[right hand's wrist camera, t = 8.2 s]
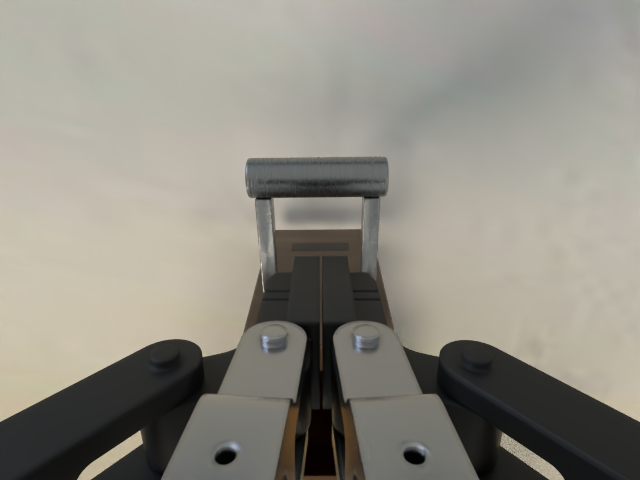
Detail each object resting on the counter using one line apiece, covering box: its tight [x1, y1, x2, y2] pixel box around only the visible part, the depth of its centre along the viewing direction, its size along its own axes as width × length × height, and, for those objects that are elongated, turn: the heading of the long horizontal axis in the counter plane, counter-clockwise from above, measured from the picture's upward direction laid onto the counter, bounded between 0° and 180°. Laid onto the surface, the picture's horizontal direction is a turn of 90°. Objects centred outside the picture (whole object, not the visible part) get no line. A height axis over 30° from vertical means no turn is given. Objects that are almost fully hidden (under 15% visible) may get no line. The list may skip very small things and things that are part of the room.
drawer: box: [243, 157, 395, 476], centre depth 22 cm, size 23×6×10 cm, turn 1°
